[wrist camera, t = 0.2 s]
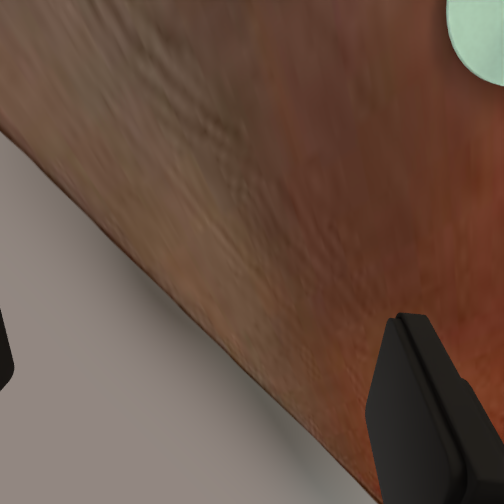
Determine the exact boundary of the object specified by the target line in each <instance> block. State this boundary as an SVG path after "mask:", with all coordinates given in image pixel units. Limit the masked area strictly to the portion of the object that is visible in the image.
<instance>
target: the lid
mask: <svg viewBox="0 0 504 504" xmlns="http://www.w3.org/2000/svg"><path fill="white" fill-rule="evenodd" d="M446 17H447V27H448V32H449V37H450V40H451V43H452V45H453V48H454V50H455V52H456V54H457V56H458V57H459V59H460V60H461V61H462V63H463V64H464V65H465V66H466V67H467V68H468V69H469V70H470V71H471V72H472V73H473V74H475V75H476V76H478V77H479V78H481V79H483V80H485V81H487V82H489V83H492V84H496V85H499V86H504V0H447V7H446Z"/></svg>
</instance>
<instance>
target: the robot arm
mask: <svg viewBox="0 0 504 504" xmlns="http://www.w3.org/2000/svg"><path fill="white" fill-rule="evenodd" d="M13 372H14V362H13V358H12V354H11V350H10V346H9V342H8V338H7V334H6V330H5V326H4V322H3V318H2V314H1V310H0V391H1V390H2V389H3V387H4V386H5V385H6V384H7V383H8V382H9V380H10V379H11V377H12V375H13ZM365 417H366V424H367V429H368V433H369V438H370V443H371V447H372V452H373V457H374V461H375V466H376V471H377V475H378V480H379V485H380V489H381V494H382V499H383V503H384V504H504V444H503V442H502V440H501V439H500V437H499V435H498V433H497V432H496V430H495V428H494V426H493V424H492V423H491V421H490V419H489V417H488V416H487V414H486V412H485V410H484V409H483V407H482V405H481V403H480V401H479V400H478V398H477V396H476V394H475V393H474V391H473V389H472V387H471V386H470V385H469V383H468V382H467V381H466V380H464V379H463V378H461V377H460V376H459V374H458V372H457V370H456V368H455V366H454V365H453V363H452V361H451V359H450V357H449V356H448V354H447V352H446V350H445V348H444V346H443V345H442V343H441V341H440V339H439V337H438V335H437V334H436V332H435V330H434V328H433V326H432V325H431V323H430V321H429V319H428V318H427V316H426V315H420V314H410V313H398V314H397V316H396V318H389V319H388V321H387V324H386V328H385V332H384V336H383V340H382V344H381V347H380V351H379V355H378V359H377V363H376V367H375V371H374V375H373V379H372V383H371V387H370V391H369V395H368V399H367V403H366V409H365Z"/></svg>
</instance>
